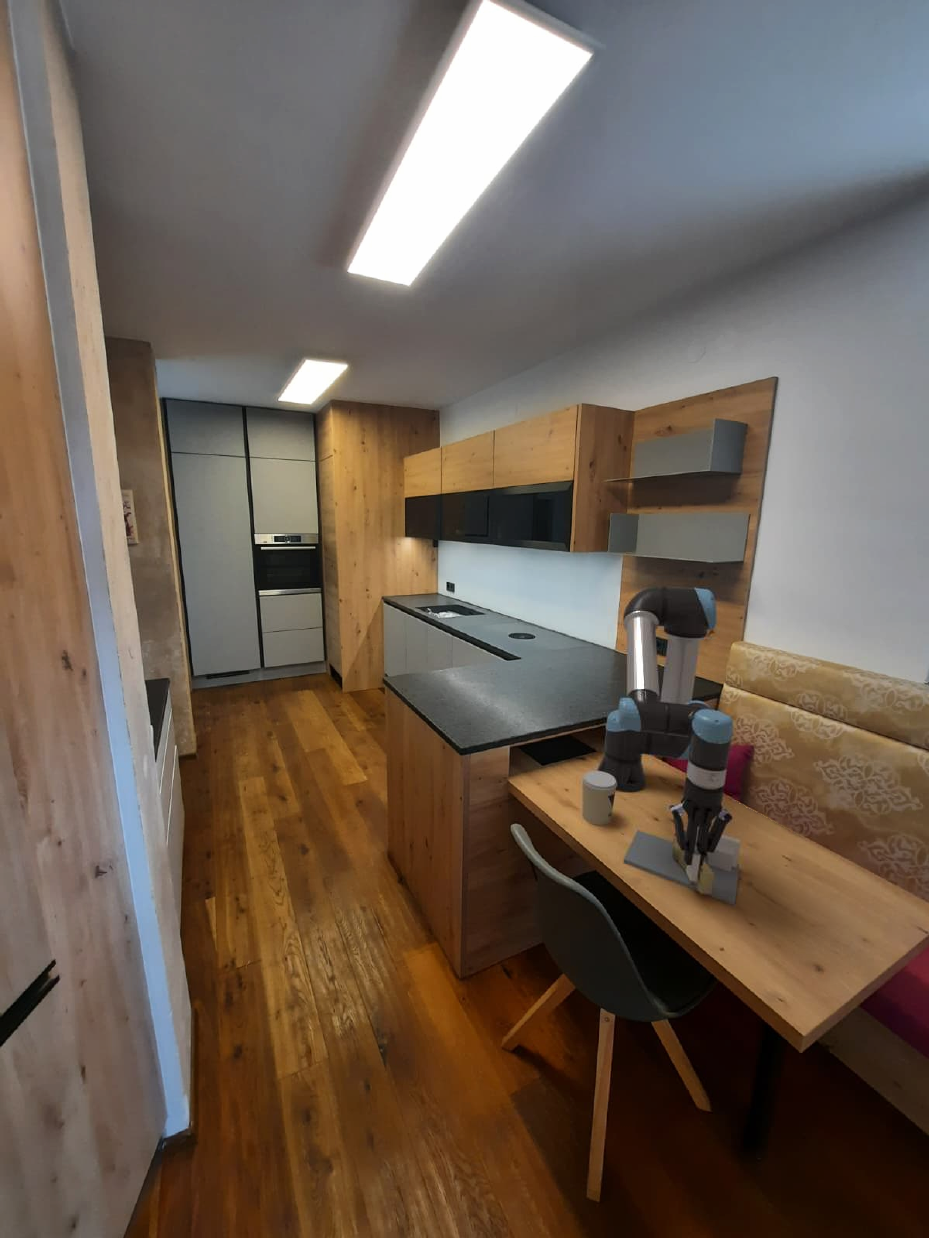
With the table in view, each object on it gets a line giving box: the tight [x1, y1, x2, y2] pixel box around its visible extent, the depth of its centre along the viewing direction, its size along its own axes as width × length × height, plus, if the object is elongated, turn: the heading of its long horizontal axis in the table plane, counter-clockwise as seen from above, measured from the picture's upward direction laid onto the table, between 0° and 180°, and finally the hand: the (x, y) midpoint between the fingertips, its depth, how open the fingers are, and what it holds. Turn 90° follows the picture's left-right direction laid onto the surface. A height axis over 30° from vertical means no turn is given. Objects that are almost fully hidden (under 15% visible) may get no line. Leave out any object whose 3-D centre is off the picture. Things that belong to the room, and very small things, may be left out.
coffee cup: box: [581, 770, 617, 826], centre depth 135 cm, size 9×9×12 cm
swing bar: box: [672, 832, 714, 895], centre depth 112 cm, size 14×4×6 cm, turn 2°
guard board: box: [623, 827, 741, 906], centre depth 116 cm, size 14×24×8 cm, turn 57°
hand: (691, 876), depth 109 cm, fingers closed
